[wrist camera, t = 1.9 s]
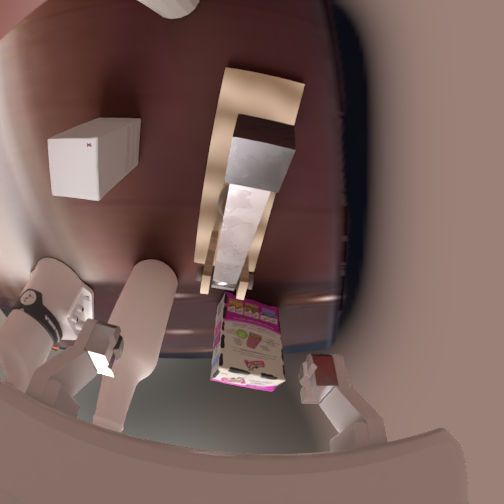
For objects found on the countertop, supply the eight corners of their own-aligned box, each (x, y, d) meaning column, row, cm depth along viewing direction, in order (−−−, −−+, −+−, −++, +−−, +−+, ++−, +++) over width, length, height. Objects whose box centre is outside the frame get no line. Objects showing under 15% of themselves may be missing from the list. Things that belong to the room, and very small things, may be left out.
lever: (240, 261, 38) (236, 295, 36) (213, 257, 38) (207, 290, 35) (292, 109, 18) (295, 150, 15) (242, 98, 17) (232, 136, 15)
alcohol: (165, 251, 45) (106, 422, 20) (186, 288, 50) (154, 448, 25) (125, 263, 46) (59, 413, 22) (148, 297, 51) (104, 440, 26)
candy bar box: (216, 306, 52) (208, 380, 39) (225, 289, 50) (218, 366, 36) (267, 322, 55) (272, 393, 42) (279, 307, 52) (287, 380, 39)
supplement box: (98, 116, 31) (46, 136, 21) (142, 117, 32) (98, 136, 22) (97, 162, 35) (50, 196, 25) (139, 166, 36) (99, 202, 26)
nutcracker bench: (253, 266, 47) (254, 319, 37) (195, 256, 45) (182, 308, 36) (302, 84, 30) (327, 84, 20) (226, 68, 29) (215, 59, 19)
